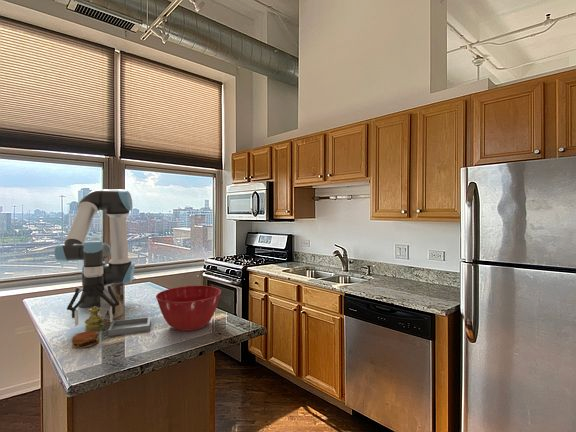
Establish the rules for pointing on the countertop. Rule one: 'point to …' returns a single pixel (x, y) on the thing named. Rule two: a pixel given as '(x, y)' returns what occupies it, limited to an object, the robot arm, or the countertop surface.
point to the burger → (85, 339)
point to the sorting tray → (129, 326)
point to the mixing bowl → (188, 306)
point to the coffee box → (105, 307)
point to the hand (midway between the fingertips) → (94, 323)
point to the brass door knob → (94, 320)
